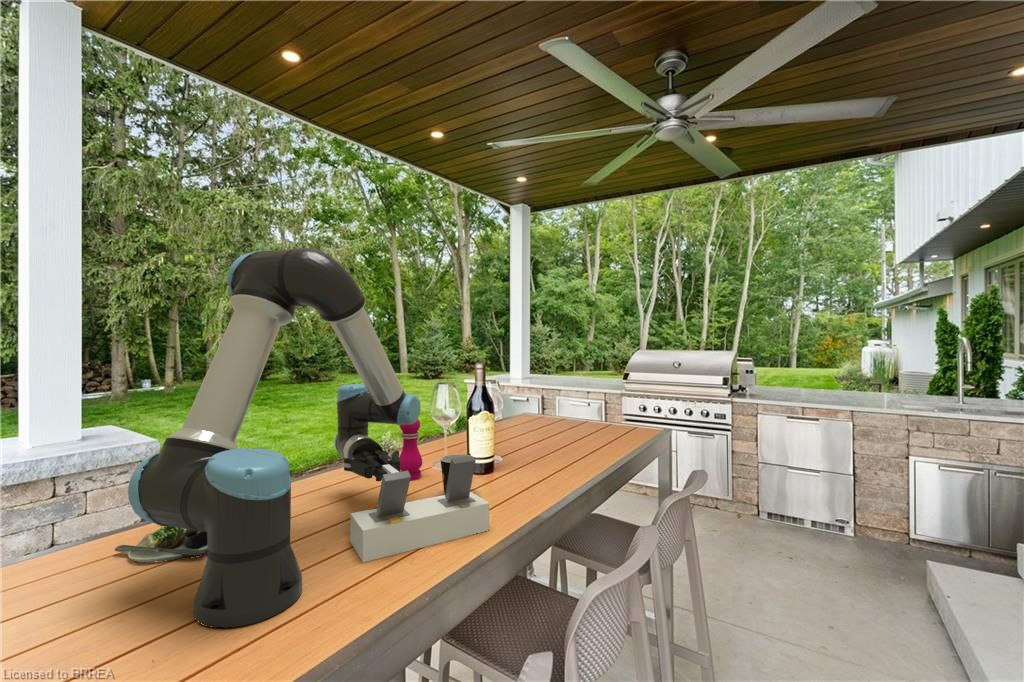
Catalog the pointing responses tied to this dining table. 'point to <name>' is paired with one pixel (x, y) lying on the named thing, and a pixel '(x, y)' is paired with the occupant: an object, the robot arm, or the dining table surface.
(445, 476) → the coffee mug
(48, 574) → the dining table surface
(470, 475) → the far switch
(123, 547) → the salad plate
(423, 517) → the switch box
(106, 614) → the dining table surface
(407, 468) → the pepper mill
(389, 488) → the near switch
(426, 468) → the dining table surface
